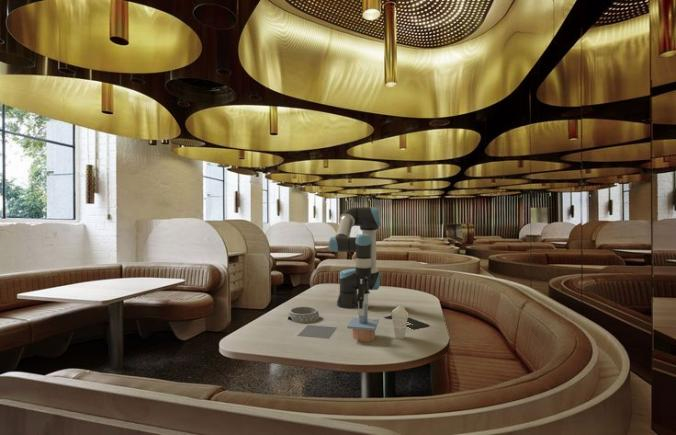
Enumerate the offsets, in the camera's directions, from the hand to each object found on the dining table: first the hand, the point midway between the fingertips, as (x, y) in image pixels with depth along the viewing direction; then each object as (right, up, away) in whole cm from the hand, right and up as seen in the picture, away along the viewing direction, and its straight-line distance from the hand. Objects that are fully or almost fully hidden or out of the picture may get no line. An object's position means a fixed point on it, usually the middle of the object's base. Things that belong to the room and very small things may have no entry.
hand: (363, 311), depth 155 cm
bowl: (0, -13, 0) cm, 13 cm away
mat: (-22, -13, +6) cm, 26 cm away
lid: (0, -7, 0) cm, 7 cm away
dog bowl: (-31, -13, +28) cm, 44 cm away
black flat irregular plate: (+24, -13, +23) cm, 36 cm away
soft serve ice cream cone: (+17, -13, 0) cm, 22 cm away
